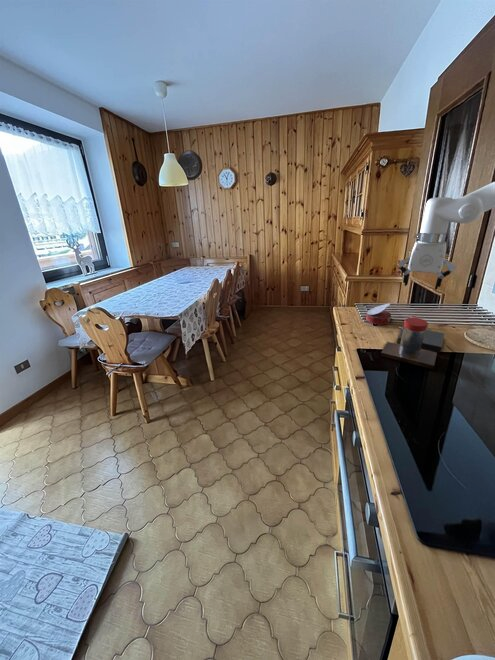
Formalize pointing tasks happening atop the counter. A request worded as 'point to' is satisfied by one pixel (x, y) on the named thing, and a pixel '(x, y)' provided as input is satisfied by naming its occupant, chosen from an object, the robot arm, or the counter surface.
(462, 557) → the counter surface
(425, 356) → the board
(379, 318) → the canned food
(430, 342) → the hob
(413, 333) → the jar with red lid
